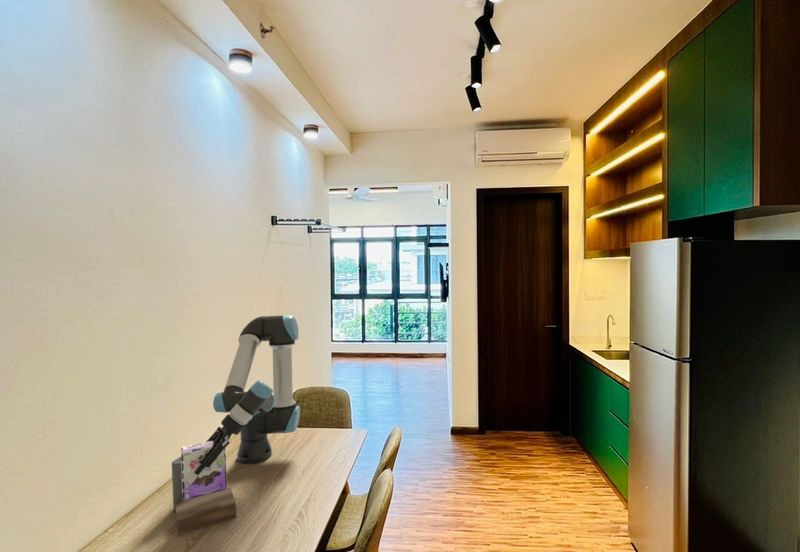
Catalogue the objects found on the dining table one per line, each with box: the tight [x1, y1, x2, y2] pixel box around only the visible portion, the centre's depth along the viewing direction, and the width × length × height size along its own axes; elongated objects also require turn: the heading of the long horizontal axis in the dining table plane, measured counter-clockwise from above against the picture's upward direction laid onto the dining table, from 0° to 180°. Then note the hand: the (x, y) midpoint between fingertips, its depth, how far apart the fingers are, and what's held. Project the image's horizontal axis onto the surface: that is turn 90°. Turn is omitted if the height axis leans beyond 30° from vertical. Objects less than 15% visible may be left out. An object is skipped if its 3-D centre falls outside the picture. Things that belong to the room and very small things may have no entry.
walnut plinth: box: [175, 487, 237, 537], centre depth 141 cm, size 12×18×5 cm, turn 121°
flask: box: [171, 456, 196, 513], centre depth 152 cm, size 15×6×20 cm, turn 176°
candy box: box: [180, 441, 227, 500], centre depth 140 cm, size 14×6×16 cm, turn 119°
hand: (187, 477), depth 138 cm, fingers closed on candy box, 6 cm apart
